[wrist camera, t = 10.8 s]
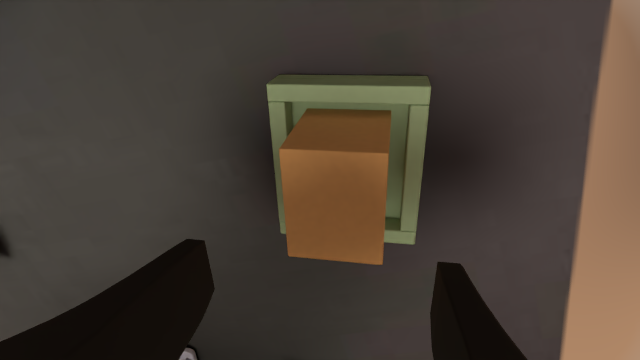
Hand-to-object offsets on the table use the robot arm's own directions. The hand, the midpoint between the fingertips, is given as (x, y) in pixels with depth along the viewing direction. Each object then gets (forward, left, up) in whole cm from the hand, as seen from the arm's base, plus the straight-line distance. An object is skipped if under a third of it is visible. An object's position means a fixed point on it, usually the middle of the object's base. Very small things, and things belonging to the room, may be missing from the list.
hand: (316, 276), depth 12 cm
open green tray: (0, 0, -9) cm, 9 cm away
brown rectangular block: (0, 0, -9) cm, 9 cm away
